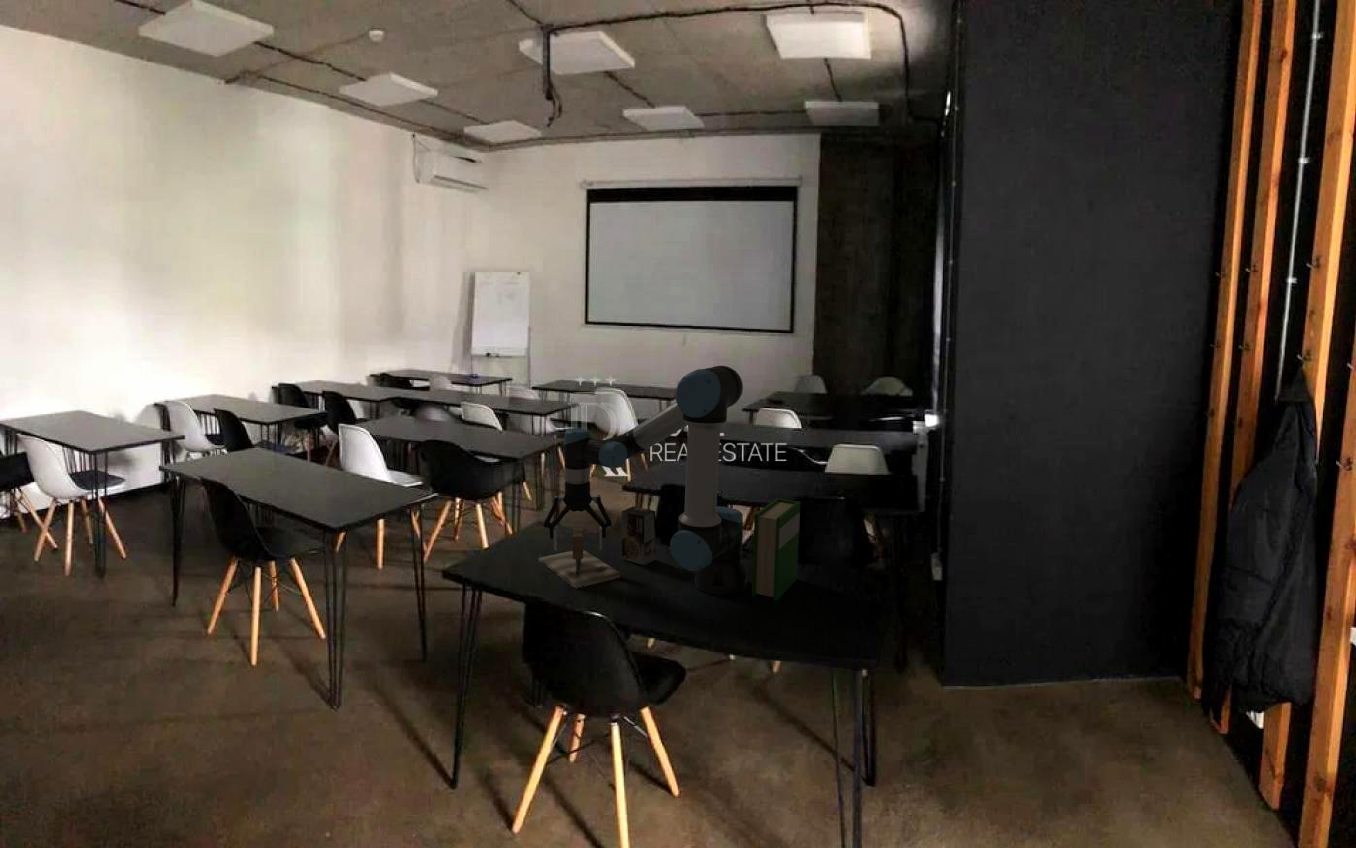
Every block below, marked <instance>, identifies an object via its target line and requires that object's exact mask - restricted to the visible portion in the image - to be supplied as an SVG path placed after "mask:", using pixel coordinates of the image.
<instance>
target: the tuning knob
mask: <svg viewBox="0 0 1356 848" xmlns="http://www.w3.org/2000/svg"><path fill="white" fill-rule="evenodd" d="M584 544H585V543H584V527H573V528H572V551H573V559H576V574H579V570H580V565H581V559H583V551H585V549H584Z"/></svg>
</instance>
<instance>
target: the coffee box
mask: <svg viewBox="0 0 1356 848" xmlns="http://www.w3.org/2000/svg"><path fill="white" fill-rule="evenodd" d="M620 513H621V560H623V561H627V562H631V563H635V564H638V565H641V566H646V565H648V564H649V563H651V562H653V561H656V510H653V509H647V508H643V507H638V506H630V507H628V508H626V509H624V510H622V511H621V512H620Z"/></svg>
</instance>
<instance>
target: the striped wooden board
mask: <svg viewBox="0 0 1356 848" xmlns="http://www.w3.org/2000/svg"><path fill="white" fill-rule="evenodd" d="M539 561H540V562H542V563H543V564H545V565H546V566H547V567H548V568H550V569H551V570H552V571H553V572H555V573H556V574H557V575H558V576H560V577H561V578H562V579H563V580H562V579H561V578H560V579H561V580H562V581H564V580H565V581H566V582H567V584H568V585H569V584H570V585H569V586H571V587H572V586H573V587H575V588H576V589H579V588H578V587H580V588H583V587H582V586H584V587H588V586H591V585H596V584H600V583H604V582H608V581H611V580H616V579H619V578H621V572H620V571H618V570H616V569H615V568H614V567H613V566H612V567H611V565H609V564H607V563H605V562H603V561H602V560H601V559H599V558H597V557H596V556H595V555H593V554H591V553H590V552H588V551H586V550H584V551H583V559H581V565H580V570H579V574H576V559H573V550H569V551H565V552H560V553H556V554H552V555H546V556H542V557H541V556H540V557H538V562H539ZM557 575H556V576H557ZM558 576H557V577H558ZM565 581H564V582H565ZM566 582H565V583H566ZM573 587H572V588H573ZM575 588H574V589H575Z"/></svg>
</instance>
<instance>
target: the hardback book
mask: <svg viewBox="0 0 1356 848" xmlns="http://www.w3.org/2000/svg"><path fill="white" fill-rule="evenodd" d="M753 518H754V519H753V521H754V522H753V546H752V547H753V549H752V574H751V579H752V580H751V597H754V596H755V597H756V596H757V595H761V596H765V597H771V598H772V600H773V602H774V601H775V602H777V601H778V600H779V599H780V598H781V597H782V596H783V595H784V594H785V593H786V591H788V590H789V588H791V586H792V585H793V584H794V583H795V582H796V581H797V580H798V564H799V563H798V562H799V560H798V559H799V540H800V539H799V537H800V524H801V523H800V520H801V519H800V518H801V501H796V500H789V499H783V498H778V497H776V498H775V499H773V500H772V501H770V502H769V503H768V504H767V505H765V506H764V507H762V509H760V510H759V511H757V512H756V513H754V517H753ZM756 594H757V595H756Z"/></svg>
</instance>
